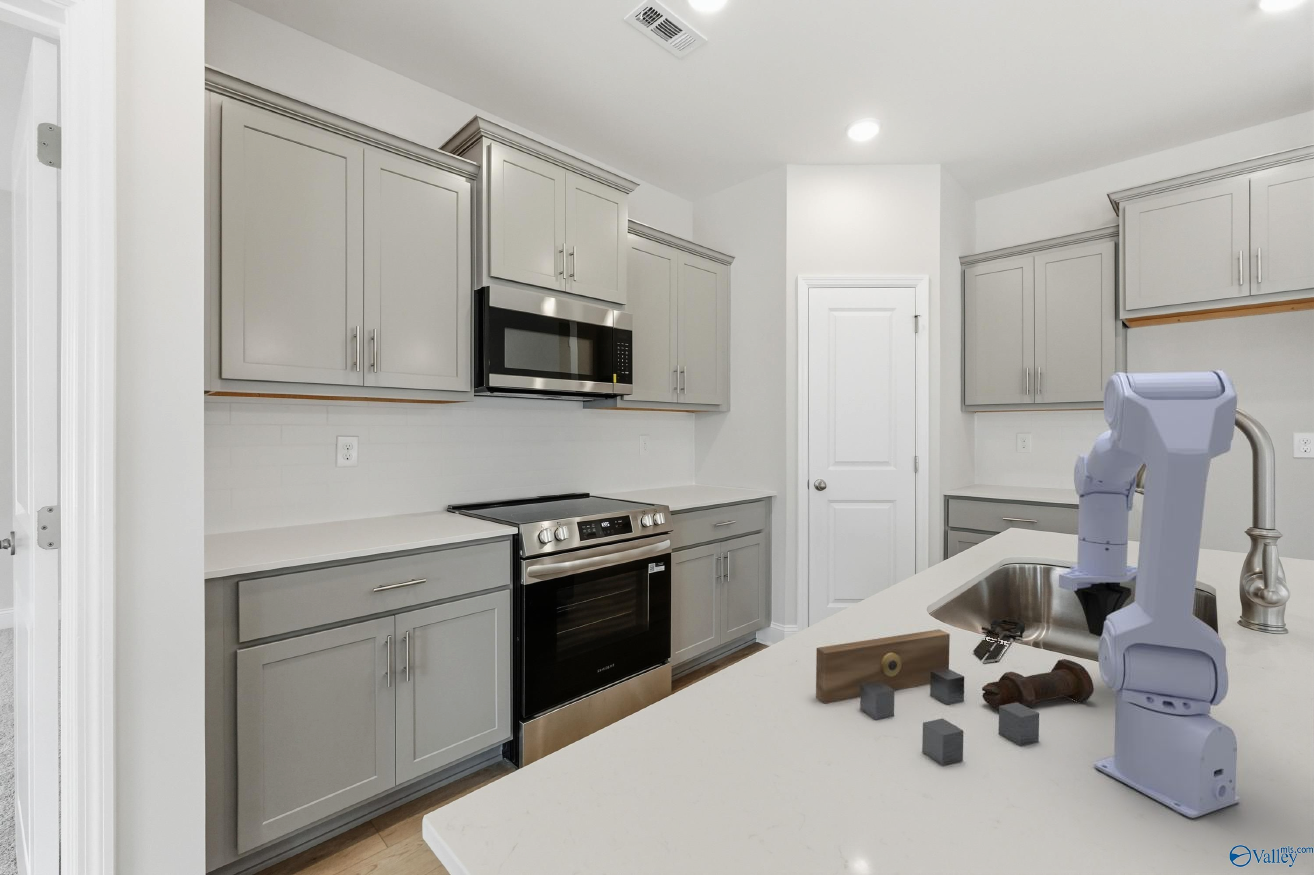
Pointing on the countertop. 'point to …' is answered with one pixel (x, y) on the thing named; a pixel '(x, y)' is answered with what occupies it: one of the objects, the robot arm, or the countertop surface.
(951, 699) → the gray stone cubes
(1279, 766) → the countertop surface
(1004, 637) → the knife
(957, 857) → the countertop surface
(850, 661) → the aperture board
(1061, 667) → the bolt
